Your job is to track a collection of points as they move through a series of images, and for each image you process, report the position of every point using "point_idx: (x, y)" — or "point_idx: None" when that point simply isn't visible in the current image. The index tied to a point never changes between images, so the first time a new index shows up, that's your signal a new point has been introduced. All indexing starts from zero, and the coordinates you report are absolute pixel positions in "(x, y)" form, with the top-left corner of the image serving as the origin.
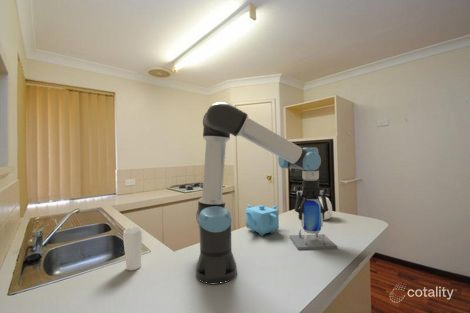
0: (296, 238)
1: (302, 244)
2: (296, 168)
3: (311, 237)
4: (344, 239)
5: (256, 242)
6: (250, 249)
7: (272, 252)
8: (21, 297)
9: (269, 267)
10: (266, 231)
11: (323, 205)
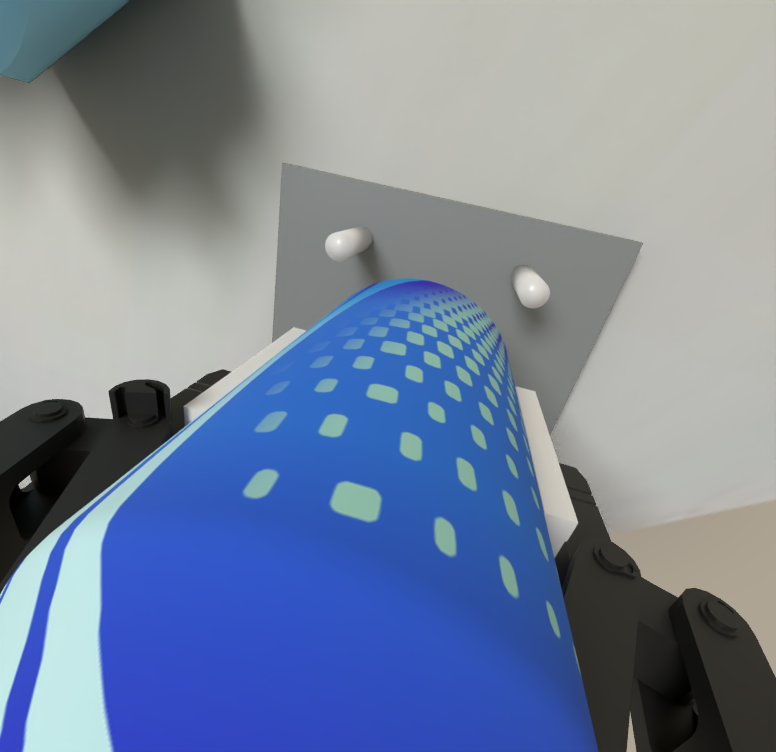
0: (318, 258)
1: None
2: None
3: (457, 281)
4: (755, 365)
5: (27, 183)
6: (7, 284)
7: (128, 362)
8: None
9: None
10: (45, 49)
11: (693, 743)
